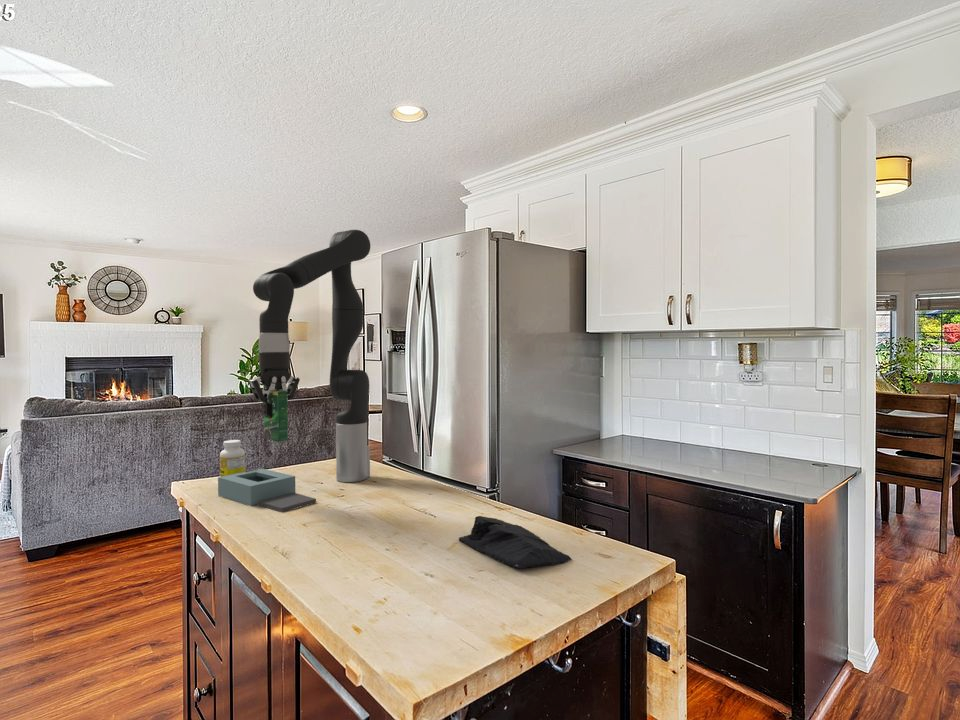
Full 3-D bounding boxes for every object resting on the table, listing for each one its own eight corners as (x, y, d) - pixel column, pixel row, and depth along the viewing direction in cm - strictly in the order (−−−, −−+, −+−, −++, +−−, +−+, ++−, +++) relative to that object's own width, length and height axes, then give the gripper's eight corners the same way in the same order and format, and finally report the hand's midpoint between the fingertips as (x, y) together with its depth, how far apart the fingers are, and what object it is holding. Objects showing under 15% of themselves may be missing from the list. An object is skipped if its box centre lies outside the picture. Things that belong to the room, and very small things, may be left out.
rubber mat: (292, 496, 144) (292, 492, 144) (316, 502, 138) (316, 498, 138) (258, 505, 136) (258, 501, 136) (281, 512, 130) (281, 508, 130)
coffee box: (262, 439, 141) (262, 389, 141) (273, 437, 143) (272, 388, 143) (277, 442, 136) (277, 391, 136) (288, 441, 138) (287, 390, 138)
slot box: (262, 485, 155) (262, 468, 155) (295, 494, 146) (295, 476, 146) (218, 495, 145) (217, 477, 145) (250, 505, 135) (250, 486, 135)
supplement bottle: (220, 483, 158) (219, 440, 158) (244, 481, 161) (244, 438, 161) (220, 488, 152) (219, 443, 152) (245, 486, 155) (244, 442, 154)
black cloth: (508, 580, 93) (507, 553, 93) (454, 540, 112) (453, 518, 112) (578, 563, 100) (578, 538, 100) (516, 528, 119) (516, 507, 119)
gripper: (290, 350, 147) (291, 413, 147) (240, 350, 136) (241, 418, 136) (306, 350, 142) (307, 415, 143) (256, 350, 131) (257, 421, 132)
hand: (275, 416), depth 139 cm, fingers closed on coffee box, 3 cm apart
